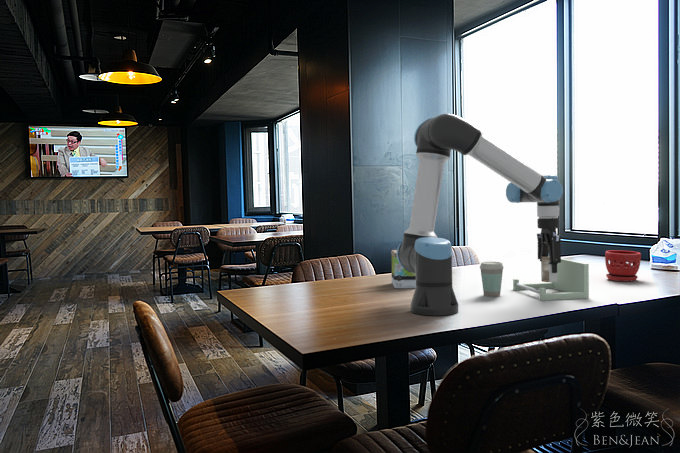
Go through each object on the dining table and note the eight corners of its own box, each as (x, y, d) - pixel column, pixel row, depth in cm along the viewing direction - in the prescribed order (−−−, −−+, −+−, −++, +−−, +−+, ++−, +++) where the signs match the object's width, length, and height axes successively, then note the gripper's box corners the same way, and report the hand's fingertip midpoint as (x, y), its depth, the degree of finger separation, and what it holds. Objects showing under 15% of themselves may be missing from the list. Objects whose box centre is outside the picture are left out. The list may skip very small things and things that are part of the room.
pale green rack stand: (541, 300, 185) (541, 265, 184) (513, 289, 208) (512, 258, 207) (588, 297, 187) (588, 263, 186) (555, 287, 210) (555, 256, 209)
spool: (560, 281, 195) (559, 257, 194) (545, 282, 194) (545, 257, 194) (552, 279, 200) (552, 255, 200) (538, 280, 199) (538, 256, 199)
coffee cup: (505, 297, 192) (504, 264, 191) (480, 297, 194) (480, 264, 193) (502, 293, 200) (502, 261, 200) (479, 293, 202) (478, 261, 202)
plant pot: (611, 282, 217) (611, 253, 216) (601, 277, 230) (600, 250, 229) (646, 282, 215) (646, 252, 214) (633, 277, 228) (633, 249, 227)
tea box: (419, 288, 217) (418, 252, 216) (394, 289, 217) (393, 252, 216) (414, 282, 232) (413, 248, 231) (391, 283, 232) (390, 249, 231)
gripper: (571, 217, 187) (572, 283, 188) (545, 216, 205) (546, 276, 207) (550, 218, 186) (551, 284, 188) (527, 217, 205) (528, 277, 206)
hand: (549, 280), depth 197 cm, fingers closed on spool, 5 cm apart
